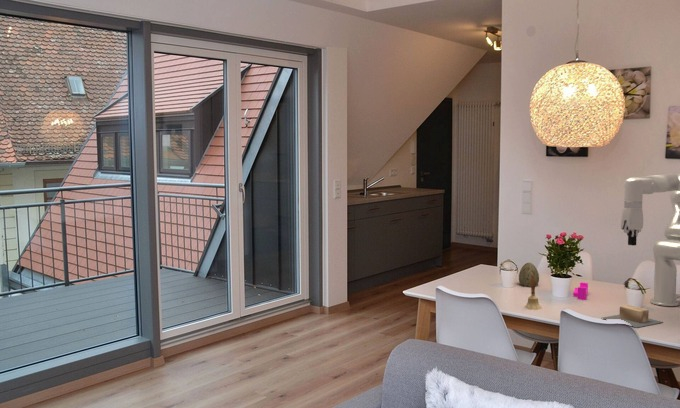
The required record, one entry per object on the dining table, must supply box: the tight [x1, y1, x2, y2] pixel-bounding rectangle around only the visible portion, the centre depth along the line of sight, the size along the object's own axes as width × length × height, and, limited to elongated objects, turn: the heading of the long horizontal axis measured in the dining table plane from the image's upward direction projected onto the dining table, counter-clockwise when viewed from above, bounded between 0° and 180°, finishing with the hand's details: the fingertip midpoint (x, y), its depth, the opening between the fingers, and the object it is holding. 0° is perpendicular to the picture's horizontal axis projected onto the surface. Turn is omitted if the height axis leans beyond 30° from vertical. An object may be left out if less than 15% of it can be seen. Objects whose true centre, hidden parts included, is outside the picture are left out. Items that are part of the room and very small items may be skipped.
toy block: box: [572, 281, 589, 301], centre depth 317 cm, size 15×6×8 cm, turn 154°
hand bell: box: [524, 276, 543, 310], centre depth 297 cm, size 8×8×16 cm
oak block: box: [619, 304, 650, 323], centre depth 274 cm, size 5×10×6 cm
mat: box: [602, 313, 664, 329], centre depth 273 cm, size 18×18×1 cm
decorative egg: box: [518, 262, 540, 288], centre depth 340 cm, size 11×11×15 cm
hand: (632, 245), depth 284 cm, fingers closed
